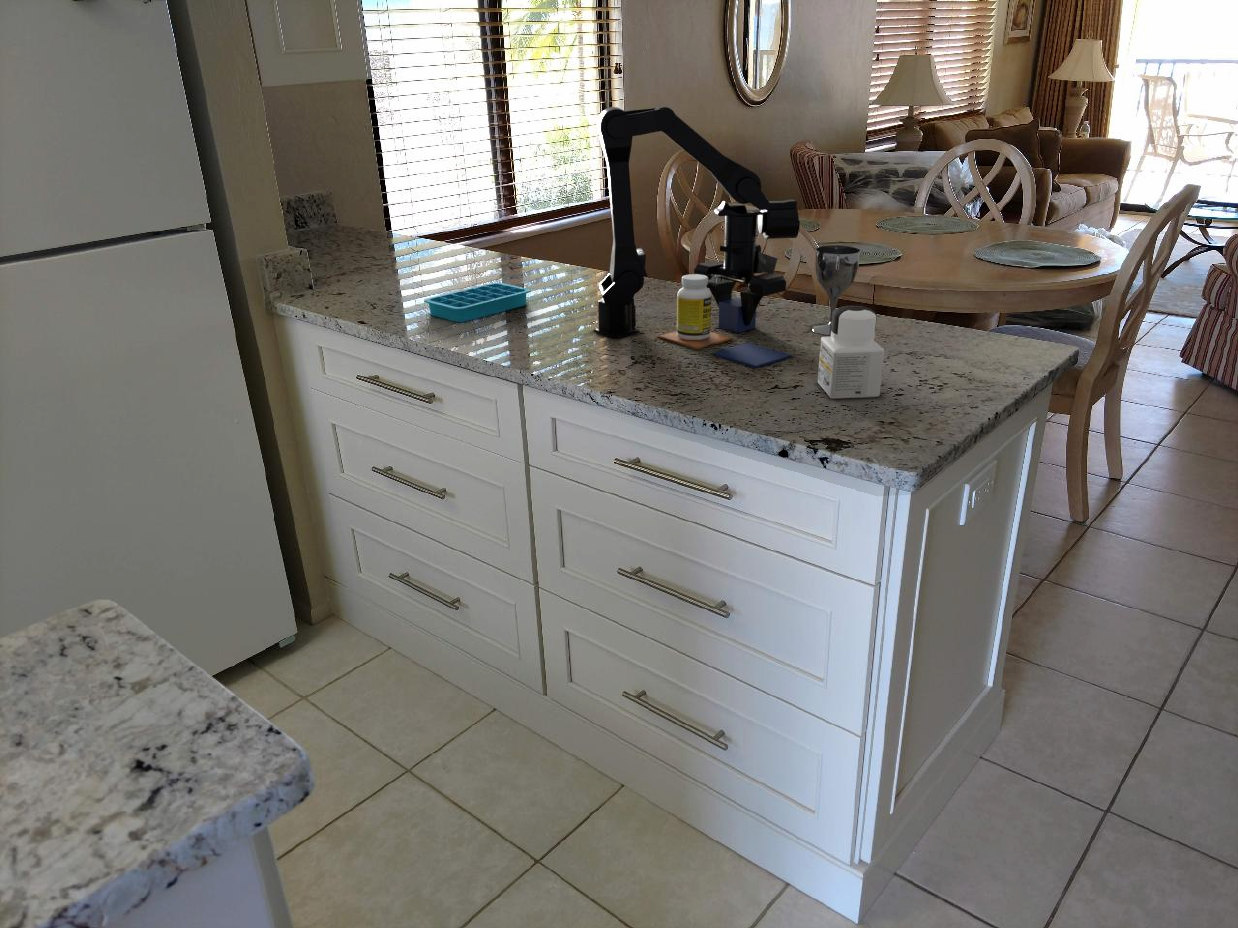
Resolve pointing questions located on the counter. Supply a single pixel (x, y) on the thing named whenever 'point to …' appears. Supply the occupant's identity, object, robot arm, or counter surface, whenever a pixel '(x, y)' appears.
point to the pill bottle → (694, 308)
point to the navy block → (733, 316)
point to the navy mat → (752, 355)
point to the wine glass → (835, 275)
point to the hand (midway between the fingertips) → (737, 322)
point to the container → (851, 355)
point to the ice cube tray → (477, 301)
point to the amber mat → (696, 344)
